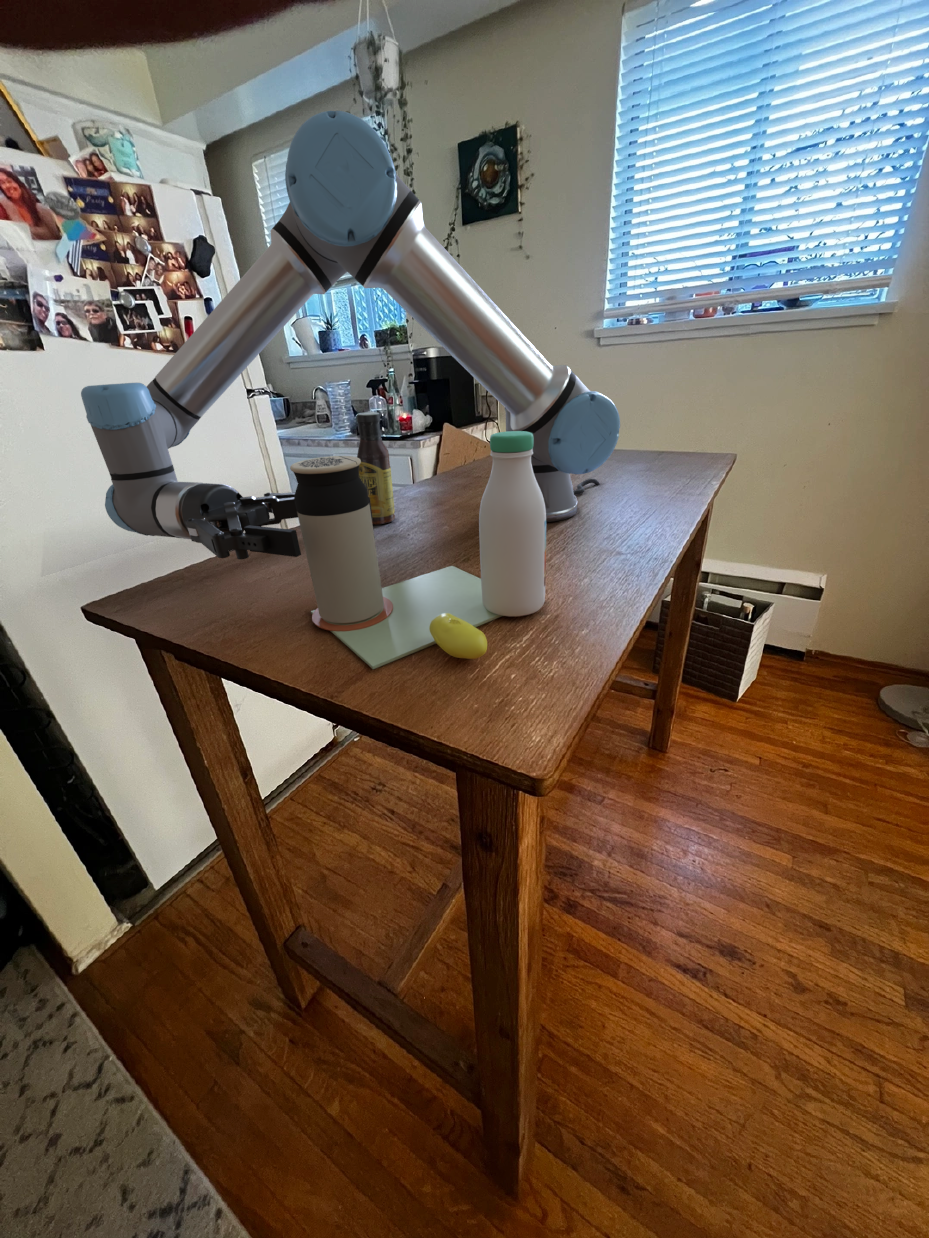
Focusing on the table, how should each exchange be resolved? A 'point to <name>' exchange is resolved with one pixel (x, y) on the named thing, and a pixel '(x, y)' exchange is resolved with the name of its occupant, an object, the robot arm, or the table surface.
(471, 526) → the table surface
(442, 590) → the placemat
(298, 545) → the robot arm
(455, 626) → the lemon
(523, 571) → the milk bottle
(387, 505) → the sauce bottle
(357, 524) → the travel mug
